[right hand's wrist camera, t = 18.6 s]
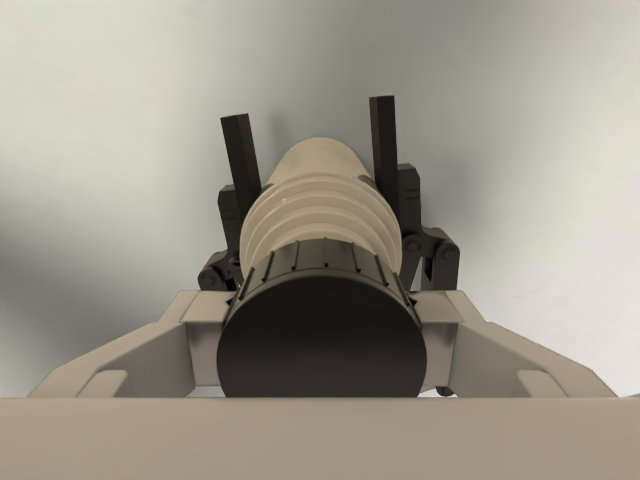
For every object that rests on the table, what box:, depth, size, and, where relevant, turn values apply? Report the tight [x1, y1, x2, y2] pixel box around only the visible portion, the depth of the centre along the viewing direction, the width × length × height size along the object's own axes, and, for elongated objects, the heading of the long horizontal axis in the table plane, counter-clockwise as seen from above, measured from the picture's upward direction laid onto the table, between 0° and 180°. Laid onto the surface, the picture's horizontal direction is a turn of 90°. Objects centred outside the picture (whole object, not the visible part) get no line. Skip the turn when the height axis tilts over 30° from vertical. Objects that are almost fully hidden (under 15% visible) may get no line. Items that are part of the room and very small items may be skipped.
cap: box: [216, 237, 427, 397], centre depth 9 cm, size 5×5×2 cm
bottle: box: [240, 137, 402, 280], centre depth 17 cm, size 6×6×18 cm
